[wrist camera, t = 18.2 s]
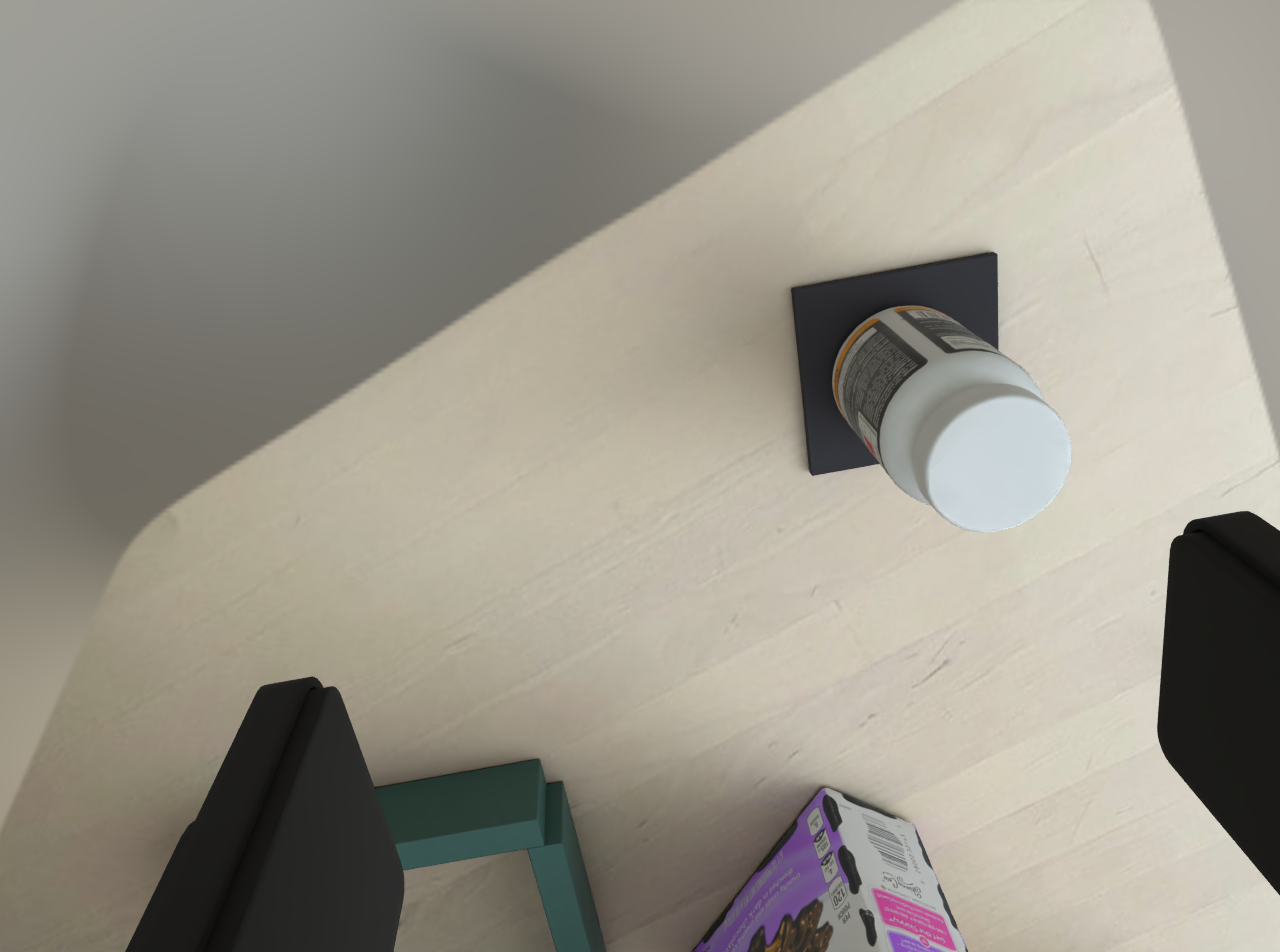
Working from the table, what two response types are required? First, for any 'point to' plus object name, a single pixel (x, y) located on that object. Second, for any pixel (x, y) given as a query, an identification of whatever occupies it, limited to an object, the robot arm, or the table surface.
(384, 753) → the table surface
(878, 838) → the candy box
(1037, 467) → the pill bottle
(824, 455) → the mat
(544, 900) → the green square frame
